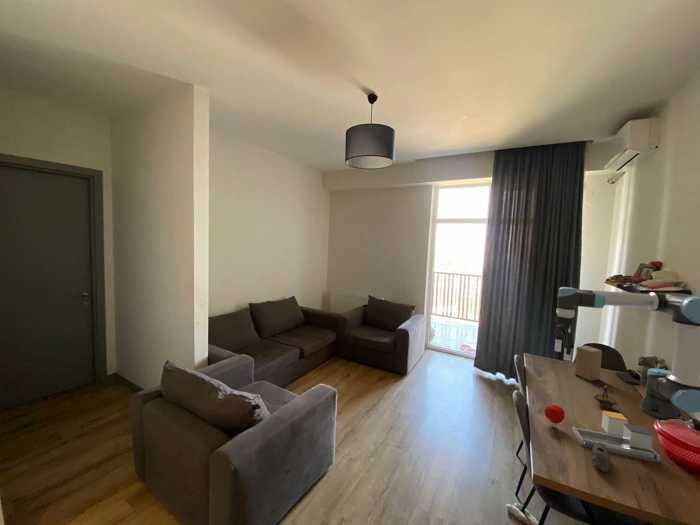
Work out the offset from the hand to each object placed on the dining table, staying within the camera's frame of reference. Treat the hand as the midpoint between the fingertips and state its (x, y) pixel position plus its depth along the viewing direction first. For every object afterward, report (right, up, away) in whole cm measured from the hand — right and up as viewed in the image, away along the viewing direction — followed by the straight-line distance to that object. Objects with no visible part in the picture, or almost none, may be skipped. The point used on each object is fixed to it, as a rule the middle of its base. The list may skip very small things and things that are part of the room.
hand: (562, 355), depth 152 cm
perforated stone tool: (-14, -30, -39) cm, 51 cm away
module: (+10, -30, -19) cm, 36 cm away
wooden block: (+45, -28, +39) cm, 66 cm away
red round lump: (-17, -29, -17) cm, 37 cm away
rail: (0, -30, -29) cm, 42 cm away
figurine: (+25, -29, +2) cm, 38 cm away
